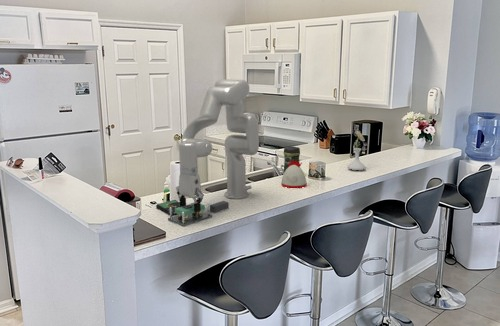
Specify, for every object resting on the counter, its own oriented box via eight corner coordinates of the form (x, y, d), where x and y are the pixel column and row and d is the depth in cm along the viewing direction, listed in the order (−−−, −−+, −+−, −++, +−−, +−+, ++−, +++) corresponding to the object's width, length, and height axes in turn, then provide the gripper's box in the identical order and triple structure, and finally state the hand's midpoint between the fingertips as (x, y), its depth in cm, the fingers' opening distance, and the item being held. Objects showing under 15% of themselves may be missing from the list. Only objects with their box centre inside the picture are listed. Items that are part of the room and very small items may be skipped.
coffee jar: (301, 176, 265) (302, 146, 261) (293, 179, 259) (293, 148, 255) (289, 174, 271) (290, 144, 267) (281, 176, 266) (281, 146, 262)
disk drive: (191, 213, 202) (175, 204, 213) (190, 207, 201) (174, 199, 212) (171, 217, 195) (155, 209, 207) (170, 211, 195) (155, 203, 206)
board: (196, 206, 198) (195, 201, 197) (205, 209, 194) (204, 203, 193) (174, 213, 189) (174, 207, 188) (183, 216, 185) (183, 210, 184)
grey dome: (303, 189, 237) (303, 162, 234) (278, 187, 242) (279, 160, 238) (308, 183, 250) (309, 157, 247) (285, 181, 255) (285, 156, 251)
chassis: (195, 211, 201) (195, 199, 200) (212, 217, 194) (212, 204, 193) (167, 220, 190) (167, 207, 188) (184, 226, 183) (183, 212, 181)
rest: (223, 206, 208) (223, 200, 208) (228, 208, 206) (228, 202, 205) (209, 211, 202) (209, 205, 201) (214, 213, 200) (214, 206, 199)
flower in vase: (366, 172, 276) (368, 132, 271) (347, 171, 278) (349, 132, 273) (364, 167, 289) (366, 129, 283) (346, 167, 290) (348, 129, 285)
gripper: (209, 172, 184) (209, 211, 188) (182, 166, 196) (184, 203, 199) (195, 175, 179) (196, 215, 183) (169, 169, 190) (170, 206, 194)
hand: (190, 209), depth 191 cm, fingers open, 9 cm apart
